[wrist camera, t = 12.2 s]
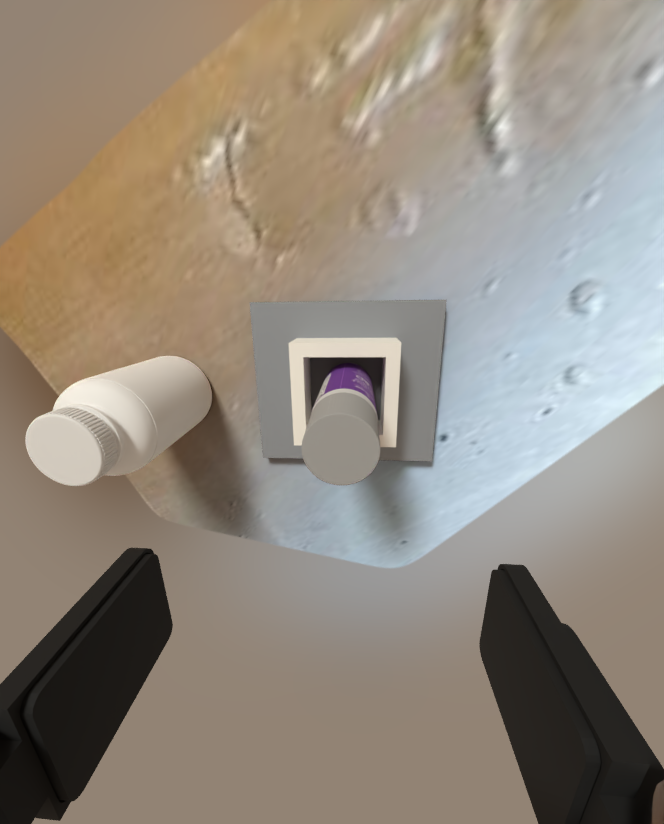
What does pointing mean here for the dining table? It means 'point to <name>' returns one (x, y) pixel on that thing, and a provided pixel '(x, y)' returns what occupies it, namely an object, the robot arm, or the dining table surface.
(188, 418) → the pill bottle
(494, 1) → the dining table surface
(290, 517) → the dining table surface
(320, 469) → the container
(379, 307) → the square socket holder
